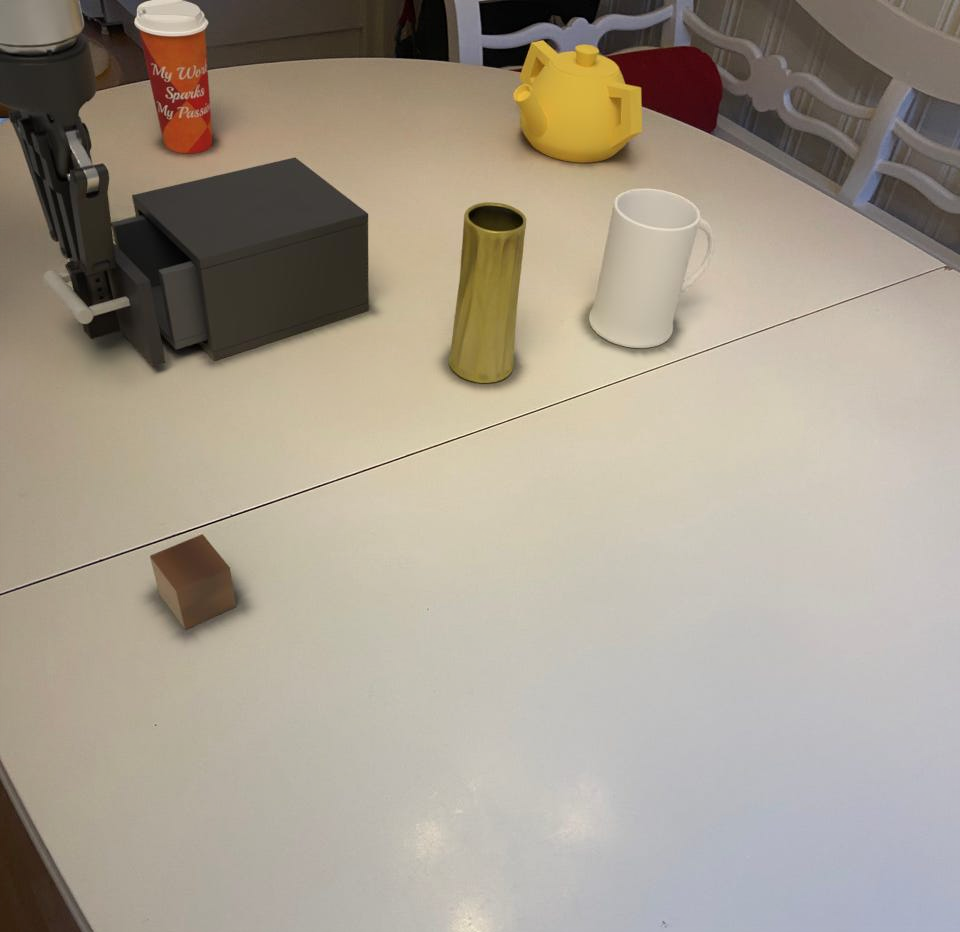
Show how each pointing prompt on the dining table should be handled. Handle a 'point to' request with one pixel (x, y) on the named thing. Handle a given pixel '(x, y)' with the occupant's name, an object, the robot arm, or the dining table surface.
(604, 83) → the teapot
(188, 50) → the paper cup
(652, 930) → the dining table surface
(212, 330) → the dark grey storage box
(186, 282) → the drawer
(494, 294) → the vase
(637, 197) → the mug
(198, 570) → the block
